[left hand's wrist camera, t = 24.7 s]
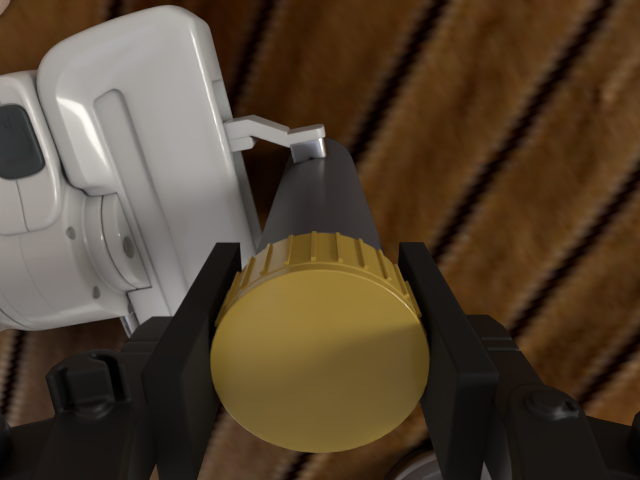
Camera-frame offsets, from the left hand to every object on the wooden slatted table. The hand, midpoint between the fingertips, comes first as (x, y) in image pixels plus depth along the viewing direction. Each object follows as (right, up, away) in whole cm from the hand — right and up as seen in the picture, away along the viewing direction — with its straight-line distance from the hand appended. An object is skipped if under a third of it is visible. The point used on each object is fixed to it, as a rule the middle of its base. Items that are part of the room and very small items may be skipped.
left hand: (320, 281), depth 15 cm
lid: (0, -2, -4) cm, 4 cm away
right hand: (+1, +4, +9) cm, 10 cm away
